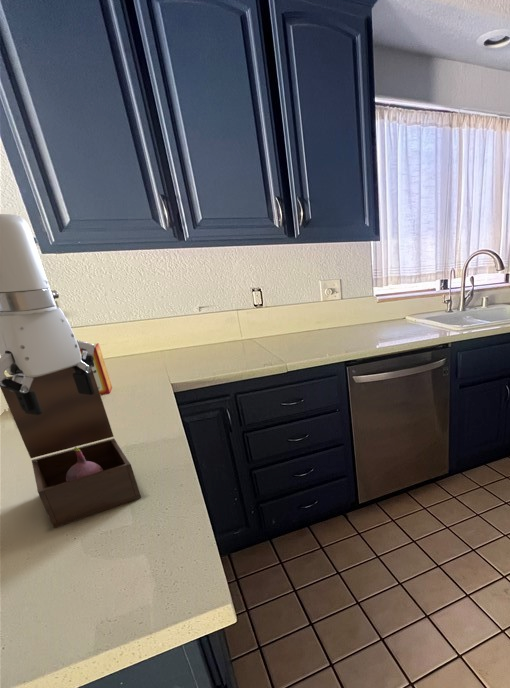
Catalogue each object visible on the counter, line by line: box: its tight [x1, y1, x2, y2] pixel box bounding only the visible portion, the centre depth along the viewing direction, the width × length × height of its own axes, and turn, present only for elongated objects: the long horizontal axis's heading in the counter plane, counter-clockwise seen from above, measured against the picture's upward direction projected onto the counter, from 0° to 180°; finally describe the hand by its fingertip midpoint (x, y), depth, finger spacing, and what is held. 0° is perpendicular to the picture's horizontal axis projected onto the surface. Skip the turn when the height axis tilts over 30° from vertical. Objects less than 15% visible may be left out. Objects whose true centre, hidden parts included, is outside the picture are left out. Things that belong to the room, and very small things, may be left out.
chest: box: [31, 437, 142, 529], centre depth 85 cm, size 16×15×8 cm
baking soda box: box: [80, 342, 113, 396], centre depth 141 cm, size 10×6×16 cm
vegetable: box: [66, 446, 103, 482], centre depth 85 cm, size 6×6×10 cm
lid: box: [0, 367, 115, 459], centre depth 87 cm, size 16×15×5 cm
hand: (62, 403), depth 74 cm, fingers open, 9 cm apart
